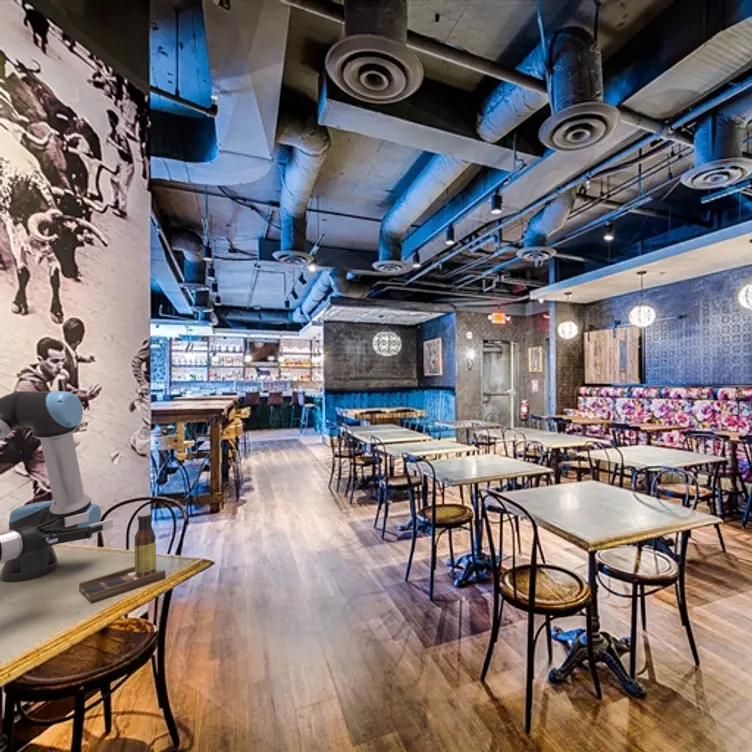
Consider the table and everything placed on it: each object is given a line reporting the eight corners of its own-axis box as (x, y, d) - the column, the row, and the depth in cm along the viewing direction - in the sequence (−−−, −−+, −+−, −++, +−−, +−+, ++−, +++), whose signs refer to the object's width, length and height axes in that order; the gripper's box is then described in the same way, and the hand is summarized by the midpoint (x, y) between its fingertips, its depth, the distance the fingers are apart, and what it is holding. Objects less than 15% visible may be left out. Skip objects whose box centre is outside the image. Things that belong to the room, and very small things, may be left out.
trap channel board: (79, 591, 129) (79, 583, 129) (150, 568, 145) (150, 561, 145) (91, 603, 121) (91, 595, 121) (165, 578, 137) (165, 570, 137)
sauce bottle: (160, 571, 140) (161, 512, 141) (145, 579, 134) (146, 517, 135) (144, 569, 142) (145, 511, 143) (129, 577, 136) (130, 516, 137)
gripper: (-4, 548, 118) (78, 525, 136) (38, 567, 106) (122, 538, 124) (-4, 522, 118) (78, 502, 136) (38, 538, 106) (122, 513, 125)
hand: (99, 519), depth 131 cm, fingers open, 13 cm apart
